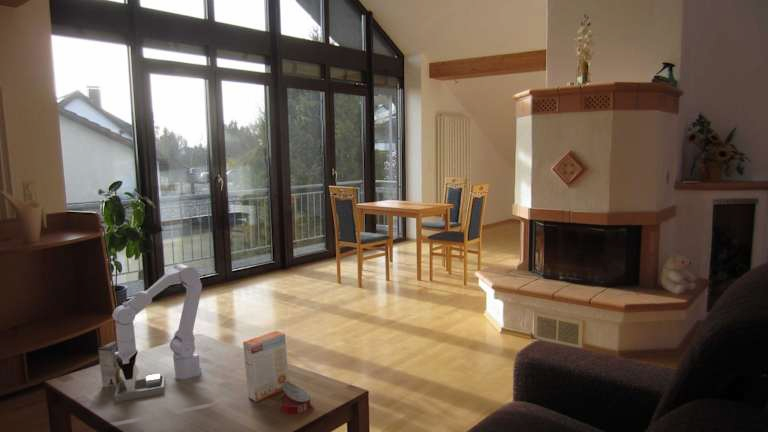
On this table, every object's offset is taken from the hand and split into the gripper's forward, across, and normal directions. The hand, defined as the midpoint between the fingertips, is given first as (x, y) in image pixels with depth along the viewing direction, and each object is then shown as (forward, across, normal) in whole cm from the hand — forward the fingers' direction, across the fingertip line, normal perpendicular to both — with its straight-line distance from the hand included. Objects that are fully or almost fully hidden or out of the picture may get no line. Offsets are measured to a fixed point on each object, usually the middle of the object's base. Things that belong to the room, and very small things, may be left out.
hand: (130, 375), depth 188 cm
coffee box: (+8, -12, -6) cm, 16 cm away
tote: (+8, 0, +3) cm, 8 cm away
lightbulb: (+7, 0, 0) cm, 7 cm away
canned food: (+8, +34, +53) cm, 63 cm away
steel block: (+7, 0, +8) cm, 10 cm away
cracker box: (+8, +20, +46) cm, 51 cm away
